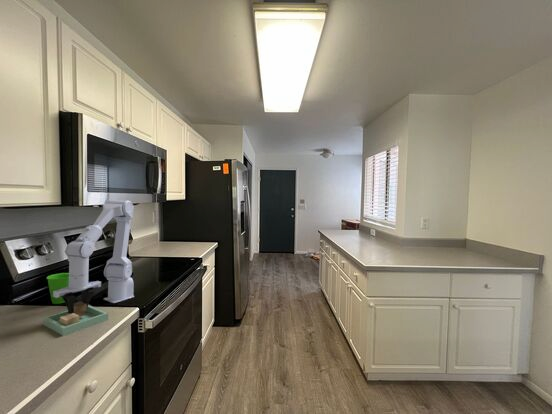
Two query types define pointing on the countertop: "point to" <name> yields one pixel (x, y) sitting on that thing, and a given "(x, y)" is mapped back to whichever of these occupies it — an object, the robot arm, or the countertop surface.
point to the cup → (57, 285)
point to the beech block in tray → (69, 319)
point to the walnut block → (79, 309)
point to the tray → (85, 321)
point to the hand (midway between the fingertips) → (77, 311)
